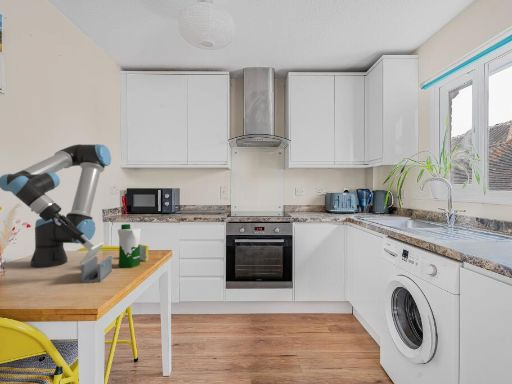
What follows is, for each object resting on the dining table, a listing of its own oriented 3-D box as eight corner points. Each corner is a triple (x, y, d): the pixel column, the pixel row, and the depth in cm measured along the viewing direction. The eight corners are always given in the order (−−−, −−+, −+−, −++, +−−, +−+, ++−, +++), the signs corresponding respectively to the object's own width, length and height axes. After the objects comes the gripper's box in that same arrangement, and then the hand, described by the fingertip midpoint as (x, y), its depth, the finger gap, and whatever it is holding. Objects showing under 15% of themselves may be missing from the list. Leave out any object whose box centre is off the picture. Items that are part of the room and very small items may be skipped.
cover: (94, 255, 135) (92, 254, 135) (104, 242, 136) (102, 241, 136) (81, 264, 119) (78, 262, 119) (92, 249, 120) (89, 247, 120)
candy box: (148, 261, 158) (149, 245, 158) (145, 261, 156) (145, 245, 156) (129, 257, 167) (129, 242, 167) (126, 258, 165) (126, 242, 165)
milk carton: (126, 263, 153) (127, 223, 153) (143, 264, 151) (143, 224, 151) (115, 267, 144) (115, 225, 144) (132, 268, 142) (132, 226, 142)
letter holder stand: (94, 272, 135) (95, 256, 135) (112, 271, 137) (112, 256, 137) (81, 282, 119) (81, 265, 119) (101, 281, 121) (101, 264, 121)
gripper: (43, 214, 128) (87, 251, 134) (32, 216, 115) (81, 257, 121) (58, 201, 130) (101, 239, 135) (49, 202, 117) (96, 243, 123)
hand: (91, 247), depth 128 cm, fingers closed
